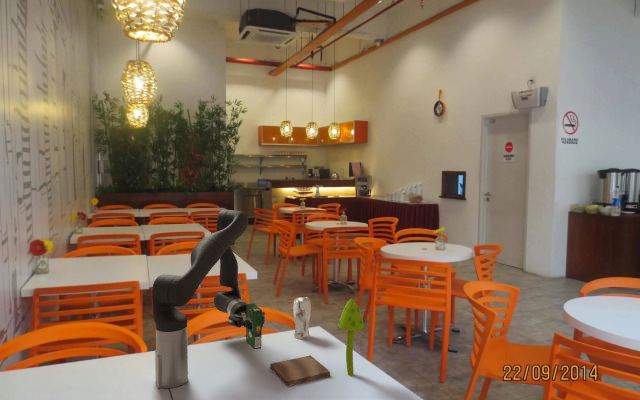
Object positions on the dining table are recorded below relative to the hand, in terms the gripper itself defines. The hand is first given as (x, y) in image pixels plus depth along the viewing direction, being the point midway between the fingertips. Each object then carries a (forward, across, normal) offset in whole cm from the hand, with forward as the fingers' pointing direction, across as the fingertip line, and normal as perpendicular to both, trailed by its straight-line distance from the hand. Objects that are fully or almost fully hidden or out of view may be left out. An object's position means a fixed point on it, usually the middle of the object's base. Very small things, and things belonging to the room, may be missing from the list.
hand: (255, 326), depth 143 cm
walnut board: (+8, +12, +14) cm, 21 cm away
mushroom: (+17, +26, +15) cm, 35 cm away
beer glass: (-20, +26, +14) cm, 36 cm away
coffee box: (-2, 0, +7) cm, 8 cm away
